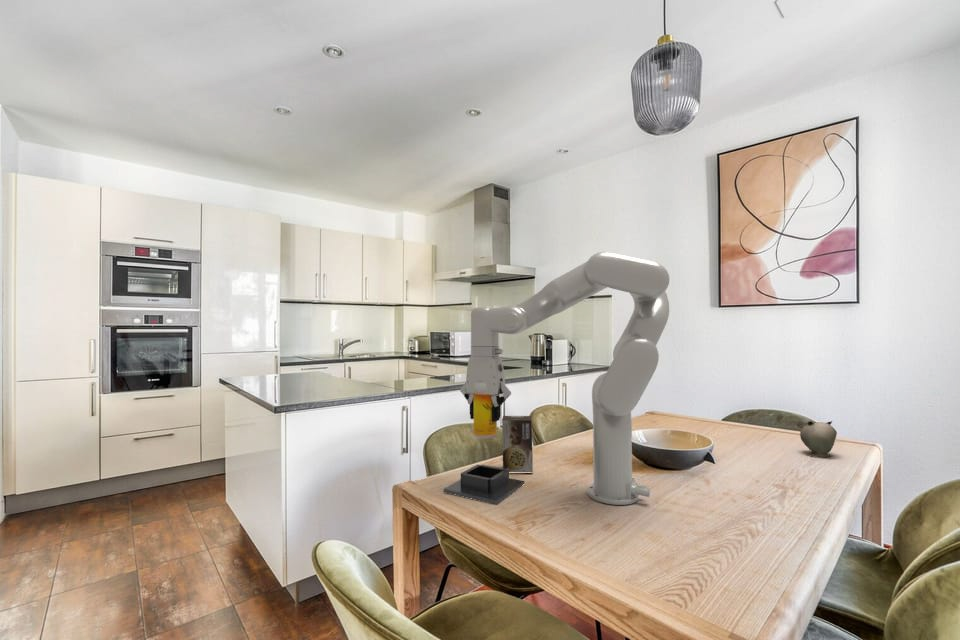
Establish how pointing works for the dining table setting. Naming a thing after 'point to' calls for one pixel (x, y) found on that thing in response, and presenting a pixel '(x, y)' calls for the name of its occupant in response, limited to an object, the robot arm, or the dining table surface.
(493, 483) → the mount
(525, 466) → the coffee box
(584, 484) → the dining table surface
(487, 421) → the beer can
